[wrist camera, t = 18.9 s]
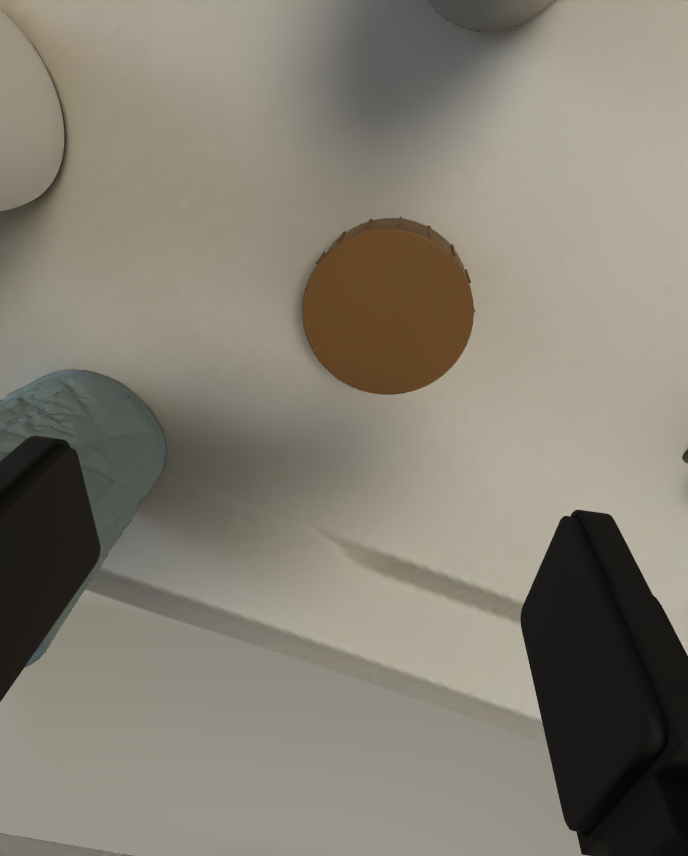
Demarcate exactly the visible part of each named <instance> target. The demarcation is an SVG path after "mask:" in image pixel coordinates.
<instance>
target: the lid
mask: <svg viewBox="0 0 688 856" xmlns="http://www.w3.org/2000/svg"><path fill="white" fill-rule="evenodd" d="M316 264H317V266H316V268H315V269H314V271H313V273H312V275H311V277H310V279H309V281H308V284H307V287H306V288H305V294H304V300H303V323H304V329H305V333H306V336H307V339H308V342H309V344H310V346H311V348H312V350H313V352H314V354H315V355H316V357H317V358H318V360H319V361H320V362H321V364H322V365H323V366H324V367H325V368H326V369H327V370H328V371H329V372H330V373H331V374H333V375H334V376H335V377H336V378H338V379H339V380H341V381H342V382H344V383H346V384H348V385H349V386H351V387H354V388H356V389H359V390H362V391H365V392H370V393H375V394H401V393H406V392H411V391H414V390H417V389H420V388H423V387H425V386H427V385H429V384H431V383H432V382H434V381H435V380H437V379H438V378H440V377H441V376H443V375H444V374H445V373H446V372H447V371H448V370H449V369H450V368H451V367H452V366H453V365H454V364H455V363H456V361H457V360H458V359H459V357H460V356H461V354H462V353H463V351H464V349H465V347H466V345H467V343H468V340H469V337H470V334H471V330H472V325H473V316H474V312H475V310H474V306H473V298H472V293H471V288H470V285H469V283H471V281H470V278H469V275H468V271H467V269H466V270H465V269H464V266H463V264H462V262H461V260H460V258H459V256H458V254H457V253H456V252H455V249H454V246H453V244H452V245H450V244H449V243H448V242H447V241H446V240H445V239H444V238H443V237H442V236H440V235H439V234H438V233H437V232H435V231H434V230H432V229H431V227H430V226H428V227H426V226H424V225H422V224H419V223H417V222H414V221H409V220H405V219H402V217H400V218H399V219H395V218H389V219H379V220H373V221H372V219H370V220H369V222H367V223H364V224H361V225H359V226H357V227H355V228H353V229H351V230H349V231H348V232H347V233H346V232H343V233H342V235H341V236H340V238H339V239H338V240H337V241H336V242H334V244H333V245H332V246H331V247H330V248H329V250H328V251H327V252H326V253H325V252H324V253H323V255H322V256H321V257H320V259H319V260H318V261H317V263H316Z"/></svg>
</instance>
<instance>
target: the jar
mask: <svg viewBox="0 0 688 856" xmlns="http://www.w3.org/2000/svg"><path fill="white" fill-rule="evenodd" d="M427 1H428V3H429V4H430V5H431V6H432V7H433V8H434V9H435V10H436V12H437V13H439V14H440V15H441V16H442V17H444V18H445V19H446V20H447V21H449V22H451V23H453V24H454V25H456V26H458V27H461V28H464V29H467V30H471V31H477V32H495V31H502V30H506V29H509V28H512V27H515V26H518V25H520V24H522V23H524V22H526V21H528V20H530V19H531V18H533V17H534V16H536V15H537V14H539V13H540V12H542V11H543V10H544V9H545V8H546V7H548V6H549V5H550V4H551V3H552V2H553V1H555V0H427Z"/></svg>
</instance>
